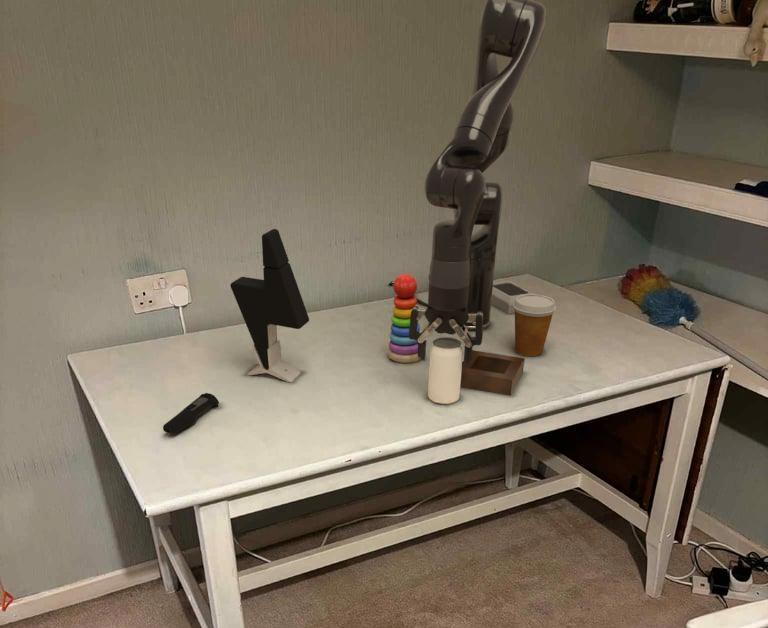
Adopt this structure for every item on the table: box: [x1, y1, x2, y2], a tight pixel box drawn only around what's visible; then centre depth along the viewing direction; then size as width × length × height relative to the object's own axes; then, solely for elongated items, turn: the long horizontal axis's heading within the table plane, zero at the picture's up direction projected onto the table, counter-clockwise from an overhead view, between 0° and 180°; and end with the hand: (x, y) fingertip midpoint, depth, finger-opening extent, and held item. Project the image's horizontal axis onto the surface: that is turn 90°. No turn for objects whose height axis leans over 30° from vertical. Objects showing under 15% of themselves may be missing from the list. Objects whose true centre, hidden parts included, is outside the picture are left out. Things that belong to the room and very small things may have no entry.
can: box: [427, 336, 464, 405], centre depth 155 cm, size 6×6×12 cm
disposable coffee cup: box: [513, 293, 557, 357], centre depth 175 cm, size 10×10×12 cm
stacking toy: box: [387, 273, 421, 364], centre depth 170 cm, size 8×8×19 cm
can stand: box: [460, 349, 526, 396], centre depth 165 cm, size 12×12×4 cm
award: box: [230, 228, 310, 383], centre depth 158 cm, size 15×5×30 cm, turn 71°
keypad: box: [491, 280, 534, 315], centre depth 205 cm, size 10×4×15 cm
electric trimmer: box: [162, 392, 220, 434], centre depth 148 cm, size 4×16×3 cm, turn 158°
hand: (444, 361), depth 153 cm, fingers open, 8 cm apart
